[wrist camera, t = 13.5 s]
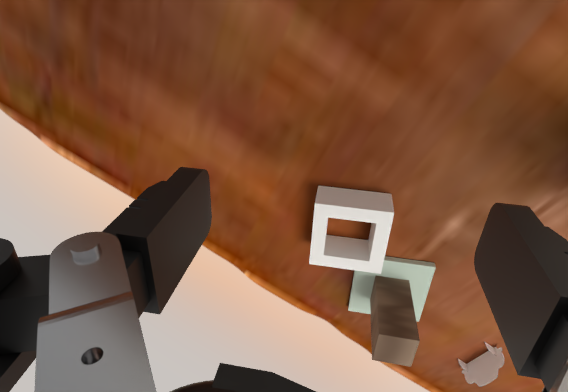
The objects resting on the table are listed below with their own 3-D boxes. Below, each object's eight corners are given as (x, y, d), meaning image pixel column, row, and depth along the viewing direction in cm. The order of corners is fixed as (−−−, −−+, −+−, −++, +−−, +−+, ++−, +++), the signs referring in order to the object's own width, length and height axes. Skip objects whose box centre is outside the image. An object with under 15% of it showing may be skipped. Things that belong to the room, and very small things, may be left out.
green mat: (434, 262, 45) (435, 267, 44) (418, 316, 49) (418, 321, 48) (357, 252, 46) (357, 256, 45) (348, 306, 50) (348, 310, 50)
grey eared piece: (477, 376, 53) (487, 407, 49) (441, 353, 52) (448, 383, 48) (575, 320, 46) (595, 351, 42) (535, 292, 45) (552, 322, 41)
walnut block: (409, 280, 46) (419, 341, 38) (402, 304, 47) (410, 366, 40) (375, 275, 46) (379, 334, 38) (370, 299, 48) (372, 359, 40)
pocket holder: (391, 193, 41) (394, 212, 38) (379, 251, 45) (381, 274, 42) (318, 185, 42) (314, 203, 39) (312, 243, 46) (309, 263, 43)
